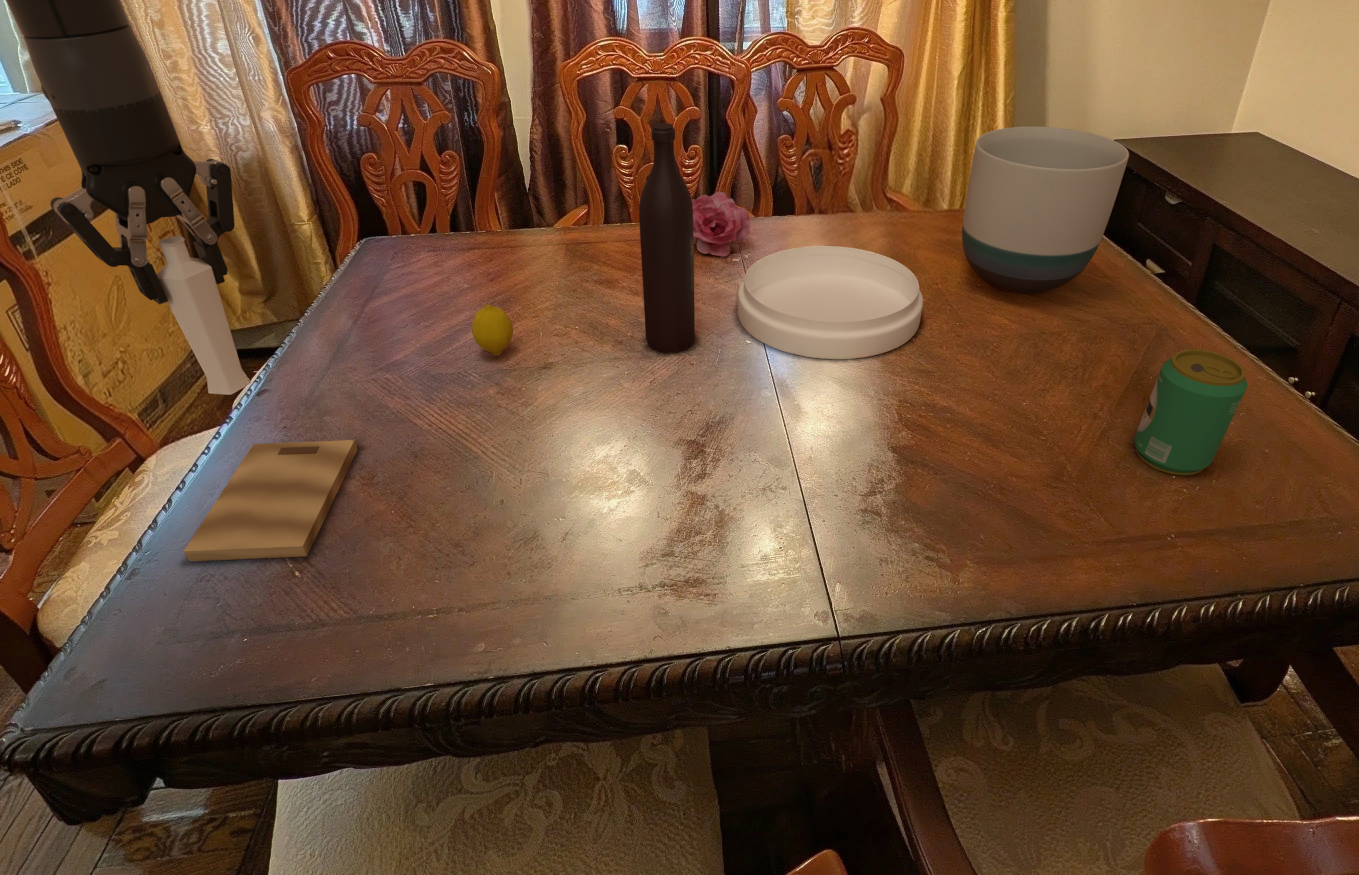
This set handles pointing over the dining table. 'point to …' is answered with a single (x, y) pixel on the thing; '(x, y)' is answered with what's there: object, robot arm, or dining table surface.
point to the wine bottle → (667, 249)
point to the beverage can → (1189, 411)
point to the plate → (830, 302)
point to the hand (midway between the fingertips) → (189, 289)
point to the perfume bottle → (201, 316)
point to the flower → (718, 223)
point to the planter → (1038, 204)
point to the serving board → (274, 502)
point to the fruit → (492, 329)
